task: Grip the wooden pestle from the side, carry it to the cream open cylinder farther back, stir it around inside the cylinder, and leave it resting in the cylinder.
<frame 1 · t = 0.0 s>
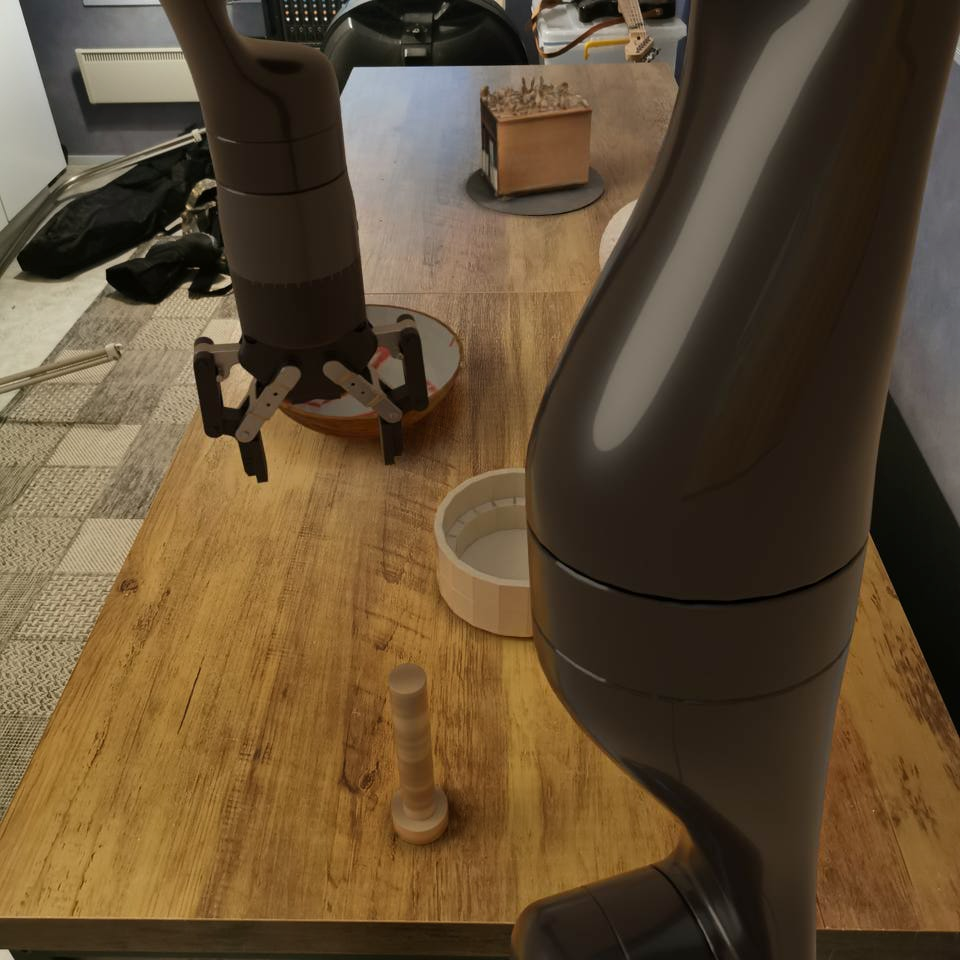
hand: (326, 466, 63), 28 cm above the table, tool pointing down, fingers open, 8 cm apart
decorative orb: (649, 302, 136), on the table
wooden pestle: (420, 818, 74), on the table
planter: (534, 187, 168), on the table
french press: (634, 394, 118), on the table
cream open cylinder: (519, 576, 94), on the table
bowl: (365, 411, 116), on the table
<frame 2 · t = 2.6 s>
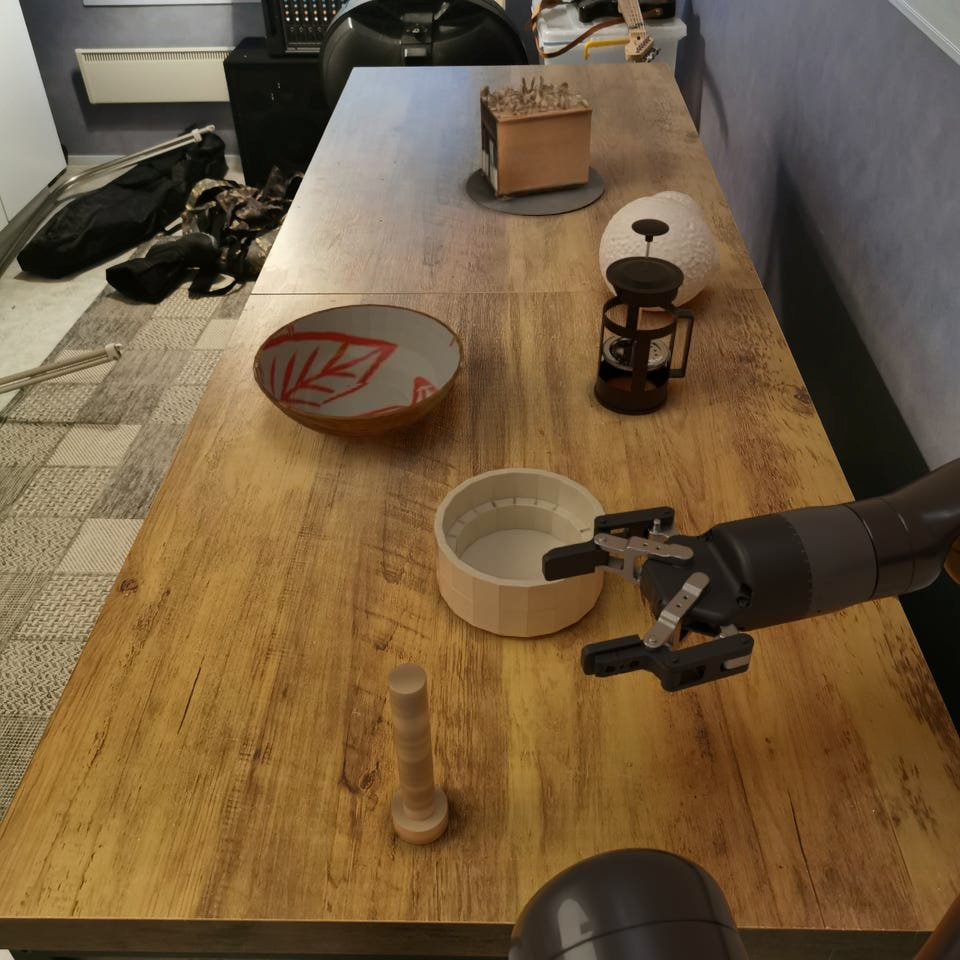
hand: (561, 612, 61), 22 cm above the table, tool horizontal, fingers open, 8 cm apart
nothing on the table moved.
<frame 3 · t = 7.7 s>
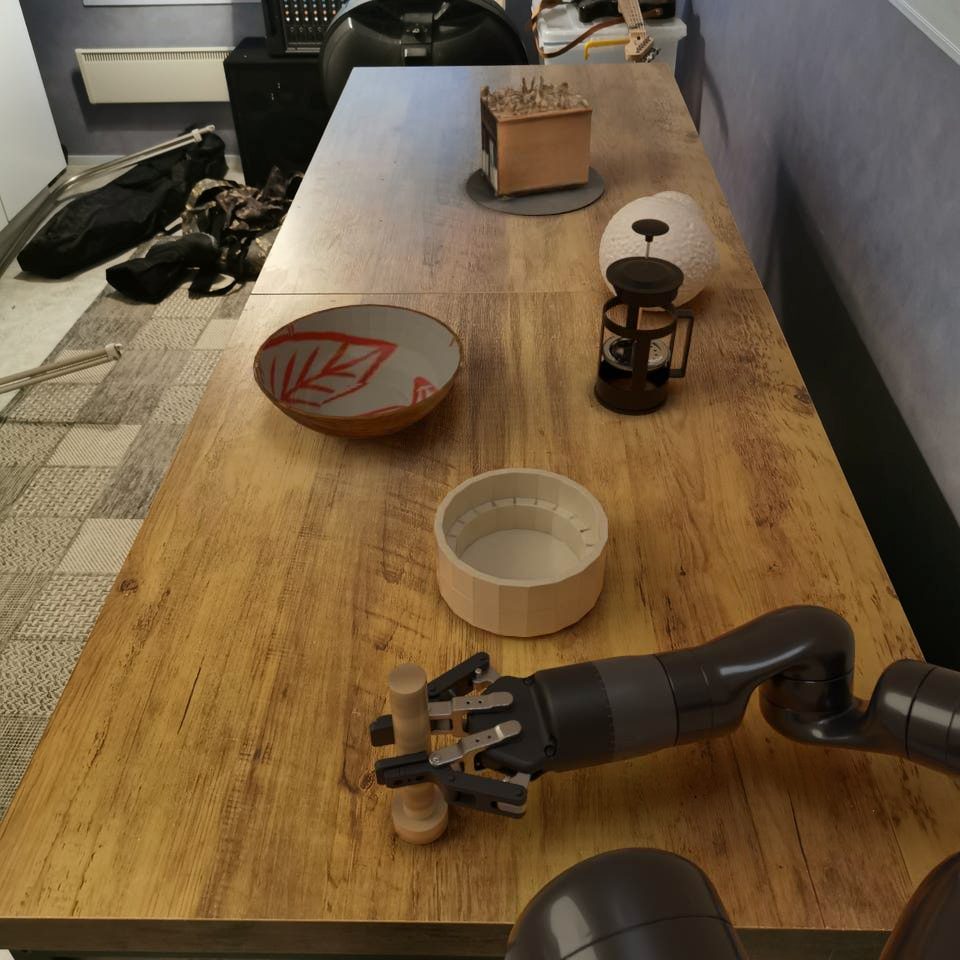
hand: (374, 753, 67), 10 cm above the table, tool horizontal, fingers closed on wooden pestle, 2 cm apart
wooden pestle: (420, 818, 74), on the table, touching gripper
everything else where it was.
when the fingers open (11 cm above the table, at t = 20.7 s): wooden pestle stays where it is, resting on cream open cylinder.
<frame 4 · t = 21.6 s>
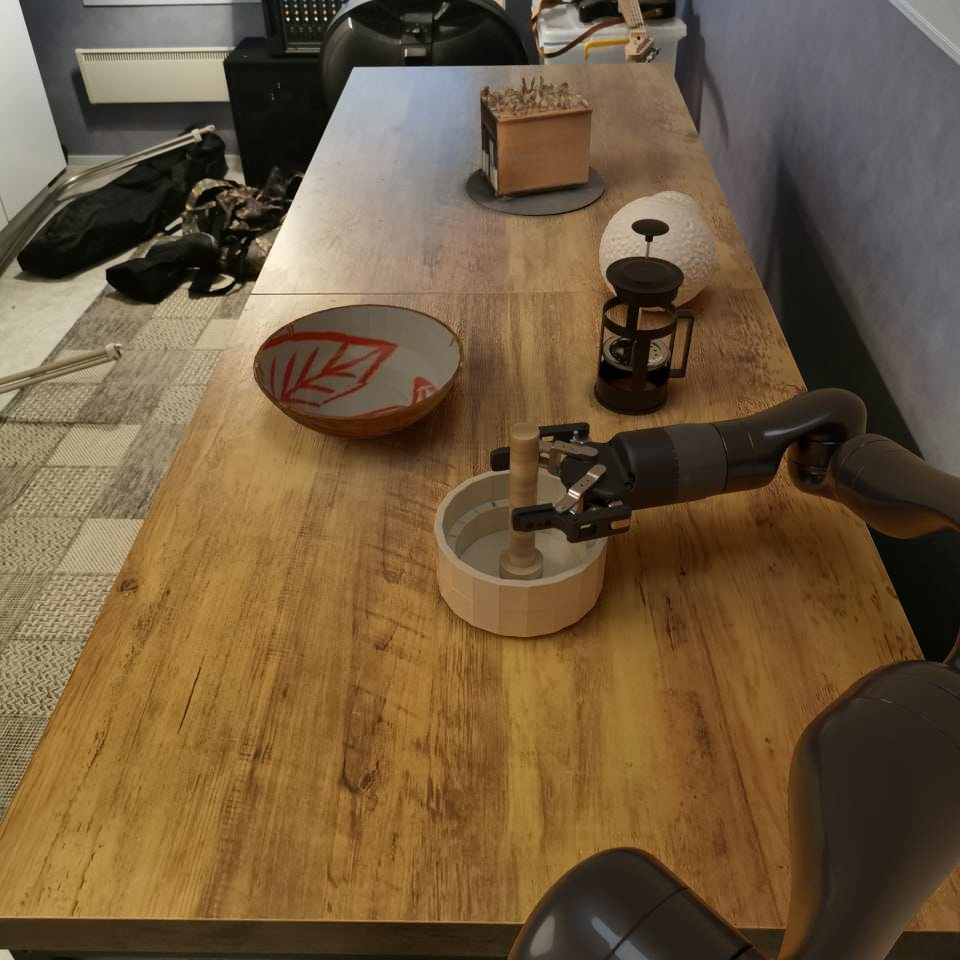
hand: (500, 489, 85), 12 cm above the table, tool horizontal, fingers open, 8 cm apart
wooden pestle: (521, 572, 93), point 1 cm above the table, touching cream open cylinder
everything else where it was.
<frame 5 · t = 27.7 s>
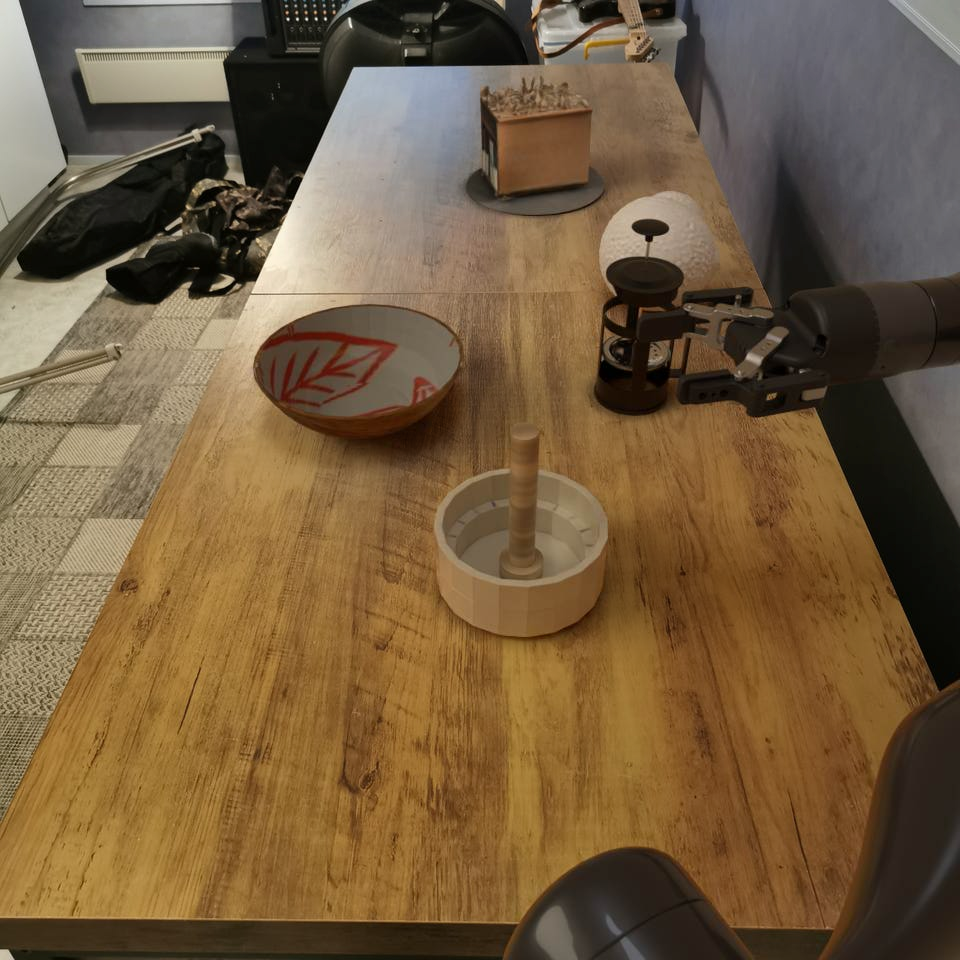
hand: (657, 358, 69), 30 cm above the table, tool horizontal, fingers open, 8 cm apart
nothing on the table moved.
at the end: wooden pestle inside the target area in the cream open cylinder (0.1 cm from its centre), point 0.6 cm above the cream open cylinder's base; the gripper is holding nothing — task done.
